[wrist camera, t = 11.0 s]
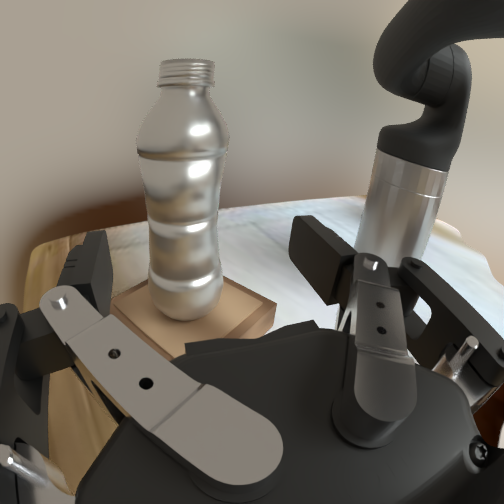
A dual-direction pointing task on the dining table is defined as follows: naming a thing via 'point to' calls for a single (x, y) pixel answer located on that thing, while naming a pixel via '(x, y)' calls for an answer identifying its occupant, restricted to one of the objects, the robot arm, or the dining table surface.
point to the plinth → (208, 327)
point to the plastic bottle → (183, 189)
